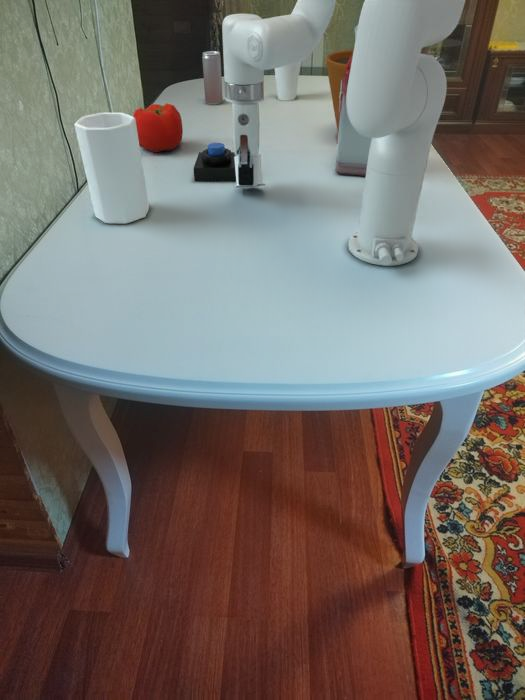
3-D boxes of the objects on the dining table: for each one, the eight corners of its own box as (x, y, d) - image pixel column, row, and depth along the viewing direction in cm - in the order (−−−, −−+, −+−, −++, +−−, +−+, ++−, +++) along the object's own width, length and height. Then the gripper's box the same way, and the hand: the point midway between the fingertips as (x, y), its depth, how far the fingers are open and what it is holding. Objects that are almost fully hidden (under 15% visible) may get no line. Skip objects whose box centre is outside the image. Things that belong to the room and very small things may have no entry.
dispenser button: (224, 156, 119) (223, 148, 118) (207, 156, 119) (206, 148, 118) (225, 151, 122) (225, 142, 121) (209, 151, 122) (208, 142, 121)
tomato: (151, 160, 131) (145, 117, 124) (127, 147, 138) (120, 106, 132) (195, 149, 137) (192, 107, 130) (170, 137, 145) (165, 97, 138)
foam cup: (269, 96, 180) (270, 54, 172) (294, 94, 182) (295, 52, 174) (278, 102, 173) (279, 59, 165) (303, 100, 175) (305, 57, 167)
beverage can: (203, 101, 175) (199, 51, 165) (219, 99, 177) (216, 50, 167) (208, 105, 171) (205, 55, 161) (225, 103, 173) (223, 53, 163)
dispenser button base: (236, 181, 119) (236, 160, 116) (194, 181, 120) (192, 160, 116) (239, 164, 128) (238, 144, 125) (199, 164, 128) (198, 144, 125)
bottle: (374, 178, 121) (394, 30, 101) (331, 175, 122) (343, 29, 103) (376, 157, 132) (394, 21, 112) (336, 155, 133) (348, 19, 114)
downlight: (271, 184, 111) (268, 135, 108) (241, 186, 108) (237, 135, 106) (257, 188, 118) (253, 142, 115) (228, 189, 115) (224, 142, 113)
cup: (92, 206, 109) (71, 115, 97) (144, 199, 112) (130, 109, 100) (98, 228, 101) (76, 131, 89) (154, 219, 104) (140, 125, 92)
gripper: (262, 101, 92) (262, 198, 104) (264, 82, 103) (264, 171, 115) (221, 101, 92) (226, 198, 104) (227, 81, 103) (231, 170, 115)
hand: (246, 183), depth 109 cm, fingers closed
